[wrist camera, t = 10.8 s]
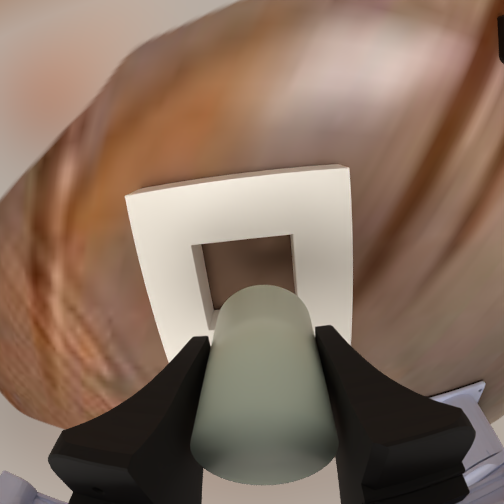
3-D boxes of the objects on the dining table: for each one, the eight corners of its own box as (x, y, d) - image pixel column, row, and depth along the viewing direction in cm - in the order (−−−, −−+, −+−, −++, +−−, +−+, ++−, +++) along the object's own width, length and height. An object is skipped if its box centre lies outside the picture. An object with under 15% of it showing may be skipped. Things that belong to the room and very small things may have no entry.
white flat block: (337, 422, 25) (341, 442, 23) (206, 431, 26) (203, 452, 24) (338, 163, 18) (349, 167, 16) (140, 188, 19) (125, 195, 16)
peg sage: (311, 358, 14) (333, 478, 8) (224, 365, 14) (207, 485, 8) (309, 280, 13) (343, 399, 7) (209, 289, 13) (172, 409, 7)
